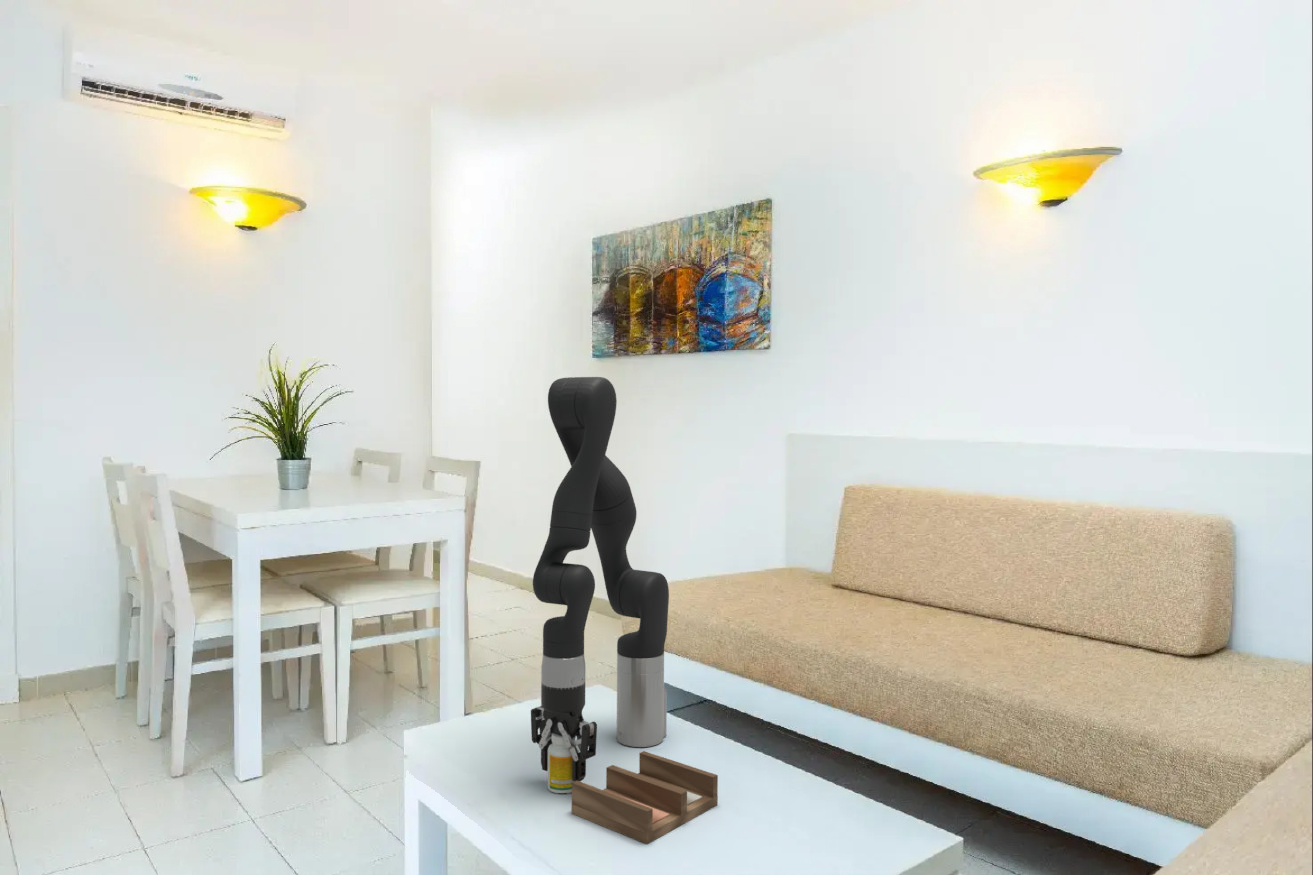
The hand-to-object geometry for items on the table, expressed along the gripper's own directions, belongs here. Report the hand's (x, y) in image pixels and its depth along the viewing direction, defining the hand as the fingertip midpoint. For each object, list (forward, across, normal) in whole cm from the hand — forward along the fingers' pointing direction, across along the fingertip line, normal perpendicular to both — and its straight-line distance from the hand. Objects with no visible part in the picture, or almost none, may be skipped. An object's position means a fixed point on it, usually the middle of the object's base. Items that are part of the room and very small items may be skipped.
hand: (562, 774), depth 162 cm
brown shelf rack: (+2, -16, -3) cm, 16 cm away
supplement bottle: (+3, 0, 0) cm, 3 cm away
